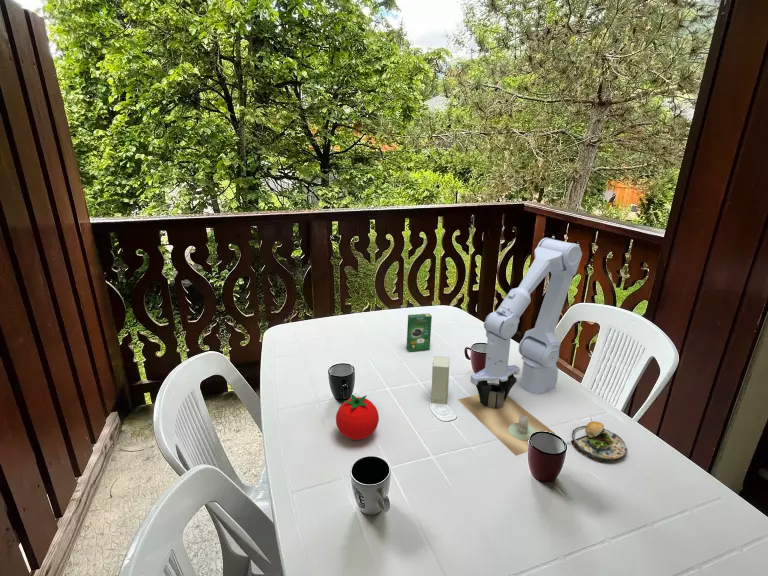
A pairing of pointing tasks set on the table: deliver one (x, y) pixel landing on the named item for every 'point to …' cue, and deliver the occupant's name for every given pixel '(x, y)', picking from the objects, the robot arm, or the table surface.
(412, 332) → the coffee box
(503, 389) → the ring
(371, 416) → the tomato
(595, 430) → the burger
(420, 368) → the table surface
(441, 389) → the skincare box
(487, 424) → the board
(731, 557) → the table surface
